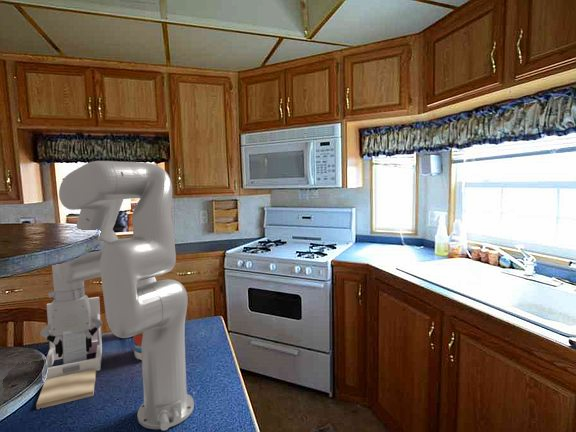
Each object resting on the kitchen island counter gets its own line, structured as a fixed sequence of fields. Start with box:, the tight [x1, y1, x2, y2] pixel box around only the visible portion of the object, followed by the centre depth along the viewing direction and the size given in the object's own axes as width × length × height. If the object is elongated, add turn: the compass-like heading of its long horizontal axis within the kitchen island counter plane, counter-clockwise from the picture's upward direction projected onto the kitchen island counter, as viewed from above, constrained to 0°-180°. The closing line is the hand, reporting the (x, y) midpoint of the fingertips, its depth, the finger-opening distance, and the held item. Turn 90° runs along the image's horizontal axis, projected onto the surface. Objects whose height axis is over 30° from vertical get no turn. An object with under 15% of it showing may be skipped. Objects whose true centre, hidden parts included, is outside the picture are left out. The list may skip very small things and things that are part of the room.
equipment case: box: [45, 296, 103, 379], centre depth 103 cm, size 16×14×18 cm
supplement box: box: [62, 331, 88, 365], centre depth 103 cm, size 6×6×12 cm
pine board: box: [35, 369, 97, 410], centre depth 91 cm, size 12×12×1 cm
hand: (74, 352), depth 103 cm, fingers closed on supplement box, 6 cm apart
